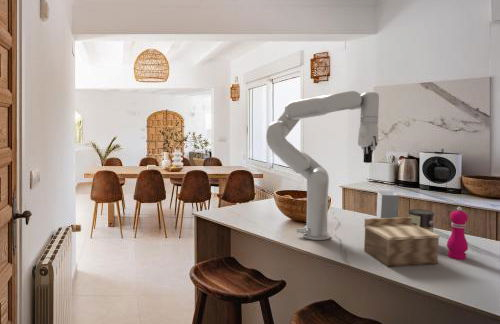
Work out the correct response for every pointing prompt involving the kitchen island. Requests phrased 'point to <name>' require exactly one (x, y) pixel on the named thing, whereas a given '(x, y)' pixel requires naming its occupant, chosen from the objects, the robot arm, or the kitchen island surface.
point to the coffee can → (422, 218)
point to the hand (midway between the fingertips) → (367, 162)
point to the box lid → (398, 228)
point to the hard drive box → (387, 204)
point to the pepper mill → (458, 235)
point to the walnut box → (401, 250)
